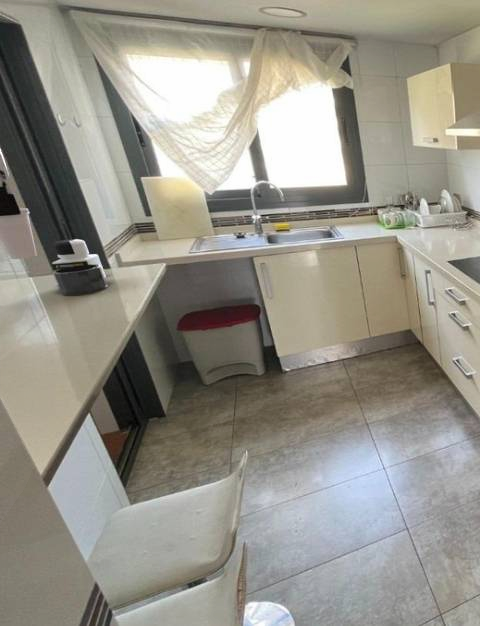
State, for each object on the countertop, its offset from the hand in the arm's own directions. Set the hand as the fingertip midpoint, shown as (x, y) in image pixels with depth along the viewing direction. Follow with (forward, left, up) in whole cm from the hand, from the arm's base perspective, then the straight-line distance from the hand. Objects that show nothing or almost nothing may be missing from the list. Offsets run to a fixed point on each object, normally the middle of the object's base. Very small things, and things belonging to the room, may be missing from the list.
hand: (6, 212), depth 92 cm
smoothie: (0, 0, -9) cm, 9 cm away
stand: (+1, +25, -24) cm, 34 cm away
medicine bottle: (-1, +34, -24) cm, 42 cm away
